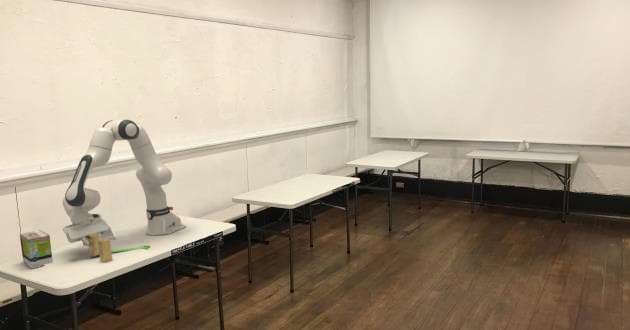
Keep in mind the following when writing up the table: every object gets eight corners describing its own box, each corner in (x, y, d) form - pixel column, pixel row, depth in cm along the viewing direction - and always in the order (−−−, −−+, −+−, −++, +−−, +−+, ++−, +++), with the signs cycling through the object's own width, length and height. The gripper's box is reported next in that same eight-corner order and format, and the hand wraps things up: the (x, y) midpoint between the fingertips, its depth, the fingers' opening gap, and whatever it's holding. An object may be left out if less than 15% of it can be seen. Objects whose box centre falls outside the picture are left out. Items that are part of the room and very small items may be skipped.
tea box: (54, 263, 249) (50, 234, 246) (31, 269, 242) (27, 239, 239) (44, 256, 259) (40, 228, 257) (22, 262, 253) (18, 233, 250)
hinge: (87, 248, 270) (82, 230, 271) (83, 249, 274) (78, 231, 274) (116, 239, 283) (111, 222, 284) (112, 241, 286) (107, 224, 287)
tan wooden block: (107, 258, 249) (105, 238, 247) (112, 259, 247) (109, 240, 245) (100, 260, 246) (97, 241, 244) (104, 262, 243) (102, 242, 242)
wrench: (151, 250, 263) (149, 247, 267) (151, 247, 262) (149, 244, 267) (98, 256, 252) (97, 253, 256) (98, 252, 251) (97, 249, 256)
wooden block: (97, 252, 255) (94, 232, 253) (101, 253, 253) (98, 234, 251) (89, 254, 252) (87, 235, 250) (93, 255, 249) (91, 236, 248)
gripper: (63, 223, 246) (75, 246, 241) (103, 213, 261) (115, 234, 257) (60, 230, 249) (72, 253, 245) (99, 220, 265) (111, 241, 260)
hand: (94, 243), depth 251 cm, fingers closed on wooden block, 4 cm apart
